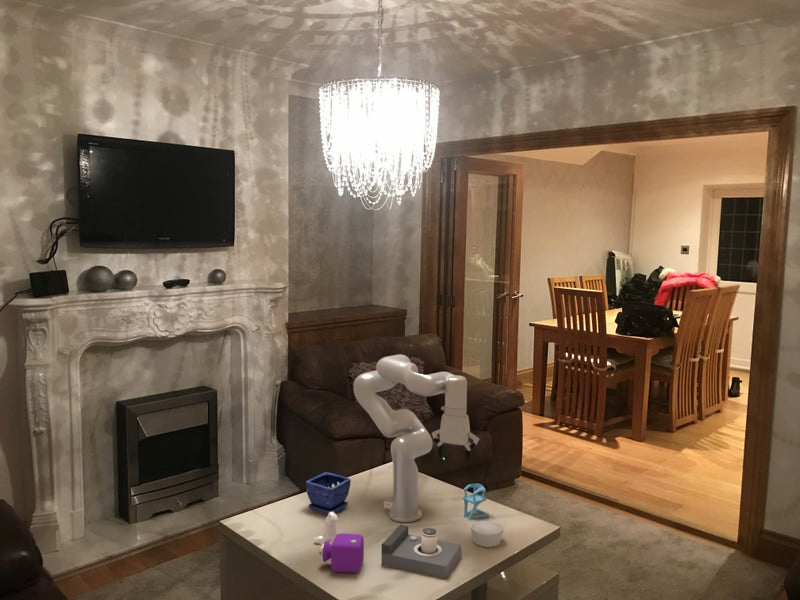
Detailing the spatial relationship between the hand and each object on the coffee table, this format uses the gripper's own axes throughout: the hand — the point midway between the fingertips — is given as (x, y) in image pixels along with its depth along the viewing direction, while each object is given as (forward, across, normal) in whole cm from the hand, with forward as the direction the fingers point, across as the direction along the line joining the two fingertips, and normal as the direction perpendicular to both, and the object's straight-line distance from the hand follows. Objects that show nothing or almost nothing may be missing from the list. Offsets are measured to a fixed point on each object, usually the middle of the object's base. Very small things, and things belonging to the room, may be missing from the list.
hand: (454, 458), depth 230 cm
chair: (+28, +2, +19) cm, 34 cm away
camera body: (+28, -4, -22) cm, 36 cm away
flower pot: (+29, -52, +2) cm, 59 cm away
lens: (+27, -1, -22) cm, 35 cm away
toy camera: (+28, -25, -36) cm, 52 cm away
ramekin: (+28, +12, 0) cm, 31 cm away
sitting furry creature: (+29, -36, -25) cm, 53 cm away
